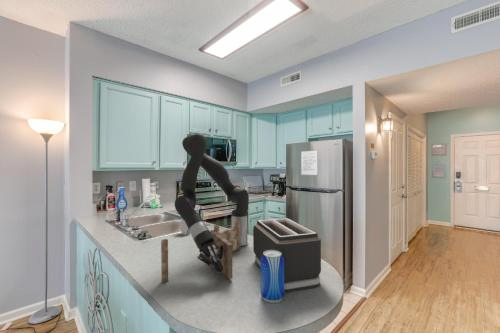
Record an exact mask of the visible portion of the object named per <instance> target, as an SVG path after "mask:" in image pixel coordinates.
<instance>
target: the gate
mask: <svg viewBox="0 0 500 333" xmlns="http://www.w3.org/2000/svg"><path fill="white" fill-rule="evenodd" d="M209 231H210V233H211V234H212V236H213V238H214V242H215V243H216V244H217V246H223V256H222V258H221V259H220V262H221V264H222V266H223V271H222V273H223V274H224V275H225V277H226V278H227V279H228V280H230V279H233V251H232V249H233V244H232V243H230V242H229V241H228V240H226V239H225V238H224V237H222V236H221V235H220V234H218V233H217V232H214V229H213V230H212V229H211V230H209Z"/></svg>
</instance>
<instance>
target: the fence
mask: <svg viewBox="0 0 500 333" xmlns="http://www.w3.org/2000/svg"><path fill="white" fill-rule="evenodd" d="M213 230H214V232H217V233H218V234H220V235H221V236H222V237H224V238H225V239H226V240H228V241H229V242H230V243H232V244H233V249H232V252H233V251H235V252H239V251H240V250H241V249H240V247H241V246H240V234H239V219H235V227H233V228H232V227H231V228H228V229H224V230H222V231H220V225H219V224H214V225H213ZM160 247H161V248H160V249H161V250H160V253H161V255H160V257H161V258H160V260H161V262H160V263H161V283H162V284H166V283H169V239H167V238H165V239H161V240H160Z"/></svg>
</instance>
